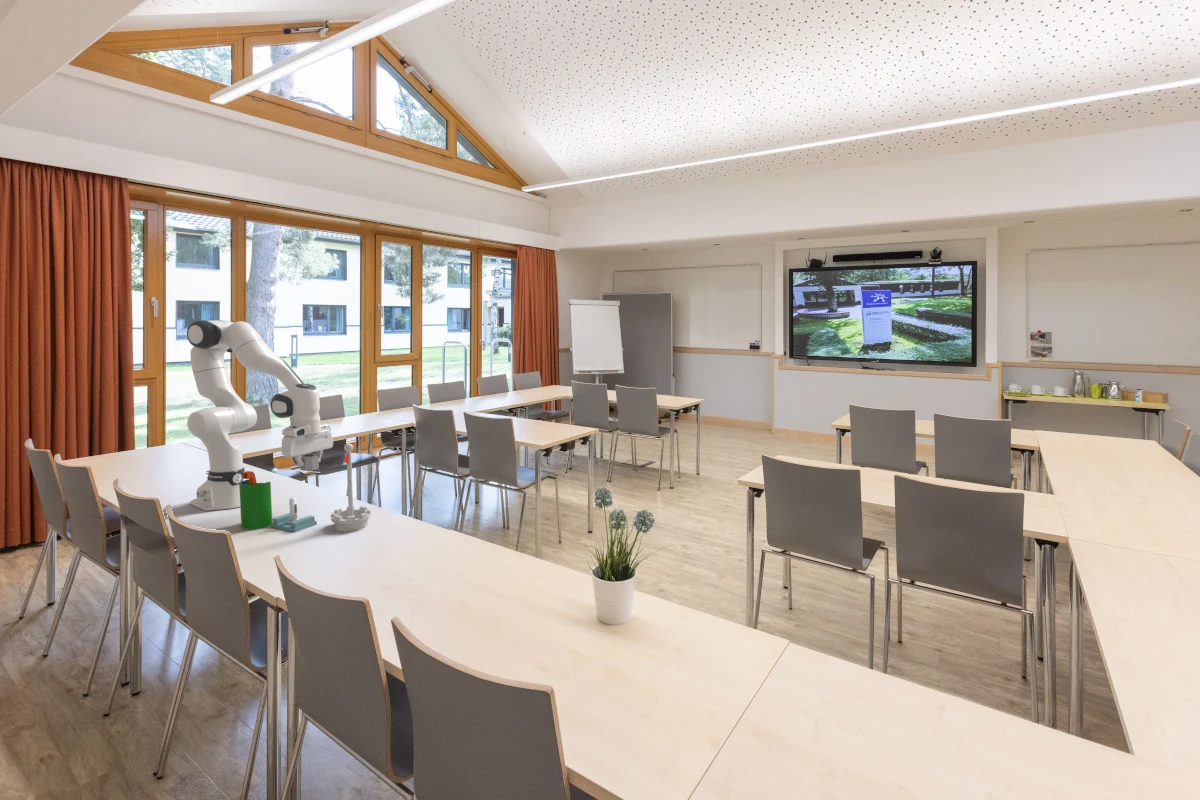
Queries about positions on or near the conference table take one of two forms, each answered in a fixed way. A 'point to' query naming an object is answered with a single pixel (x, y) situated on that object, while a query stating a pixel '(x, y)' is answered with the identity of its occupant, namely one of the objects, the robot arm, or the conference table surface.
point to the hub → (309, 462)
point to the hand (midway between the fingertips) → (309, 464)
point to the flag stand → (350, 504)
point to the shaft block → (293, 520)
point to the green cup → (255, 502)
